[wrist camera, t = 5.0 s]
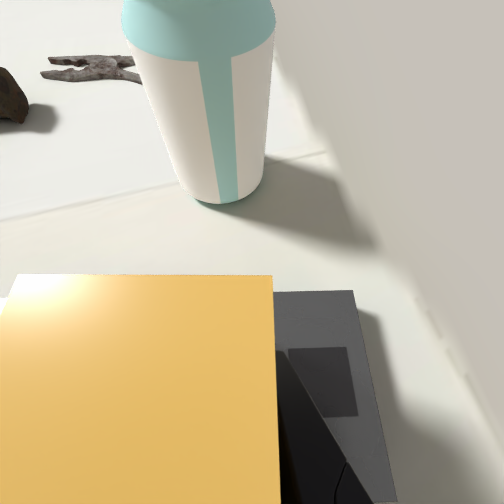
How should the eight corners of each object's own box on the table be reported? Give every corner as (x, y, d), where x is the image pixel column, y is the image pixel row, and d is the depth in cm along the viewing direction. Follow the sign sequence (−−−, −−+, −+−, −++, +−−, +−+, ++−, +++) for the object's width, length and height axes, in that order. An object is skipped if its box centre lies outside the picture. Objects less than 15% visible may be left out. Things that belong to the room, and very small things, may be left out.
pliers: (241, 86, 25) (32, 114, 23) (241, 94, 26) (39, 123, 23) (222, 37, 29) (43, 56, 26) (223, 45, 30) (48, 65, 27)
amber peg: (256, 432, 12) (288, 705, 2) (167, 432, 12) (-174, 710, 2) (255, 339, 14) (272, 275, 4) (179, 338, 14) (18, 274, 4)
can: (175, 151, 22) (103, -67, 11) (252, 140, 22) (257, -74, 11) (183, 216, 19) (96, 9, 8) (271, 200, 19) (303, -8, 9)
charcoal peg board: (369, 476, 12) (398, 502, 10) (-81, 497, 12) (-165, 530, 9) (337, 300, 16) (353, 289, 14) (-3, 309, 15) (-48, 299, 13)
